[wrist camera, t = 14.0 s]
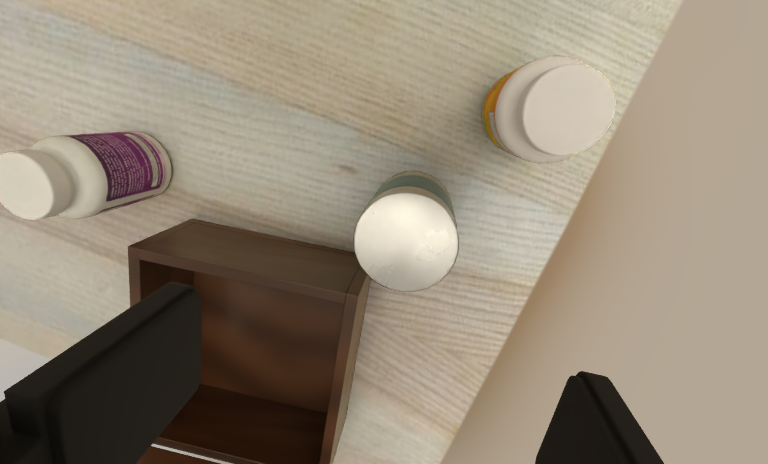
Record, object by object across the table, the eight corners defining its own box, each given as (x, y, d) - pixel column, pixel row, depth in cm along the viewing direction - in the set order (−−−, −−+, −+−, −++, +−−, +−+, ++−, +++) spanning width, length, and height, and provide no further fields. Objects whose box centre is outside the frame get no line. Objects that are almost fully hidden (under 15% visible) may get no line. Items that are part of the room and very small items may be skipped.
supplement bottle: (545, 54, 25) (611, 19, 16) (573, 130, 26) (650, 139, 17) (468, 94, 26) (487, 83, 17) (498, 165, 27) (531, 190, 18)
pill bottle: (129, 116, 30) (-7, 116, 20) (185, 160, 30) (77, 179, 21) (102, 169, 31) (-35, 192, 22) (155, 210, 32) (43, 249, 23)
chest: (191, 218, 32) (127, 246, 25) (374, 256, 31) (358, 296, 24) (189, 380, 37) (135, 439, 30) (345, 418, 36) (325, 487, 29)
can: (380, 164, 28) (361, 181, 21) (460, 179, 28) (471, 203, 20) (367, 239, 30) (345, 280, 23) (442, 254, 30) (446, 302, 22)
